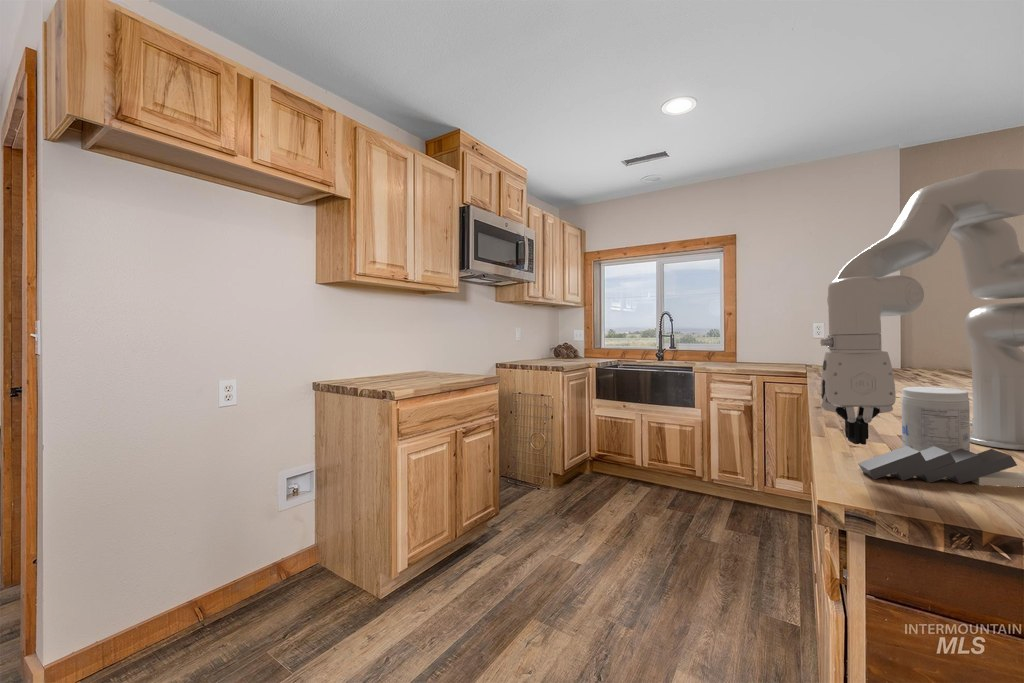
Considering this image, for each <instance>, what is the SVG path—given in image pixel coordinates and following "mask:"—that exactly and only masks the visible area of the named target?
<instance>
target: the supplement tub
mask: <svg viewBox="0 0 1024 683" xmlns="http://www.w3.org/2000/svg"><path fill="white" fill-rule="evenodd" d="M970 409H971V408H970V398H969V392H968V391H967V390H964V389H959V388H951V387H950V388H949V387H938V386H937V387H935V386H907V387H903V388H902V394H901V440H902V441H901V445H902V446H901V447H903V446H908V447H910V448H913V449H915V450H917V451H922V450H925V449H928V448H930V447H933V446H935V447H937V448H940V449H942V450H945V451H947V452H952V451H955V450H958V449H961V448H962V449H964V450H967V451H970V452H971V450H970V448H971V447H970V446H971V444H970V443H971V442H970V433H971V430H970V429H971V428H970V427H971V426H970V421H971V420H970V419H971V418H970V412H971V410H970Z"/></svg>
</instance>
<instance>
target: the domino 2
mask: <svg viewBox="0 0 1024 683" xmlns="http://www.w3.org/2000/svg"><path fill="white" fill-rule="evenodd" d="M920 452H921V454H922V456H923V457H924V459H925V460H926V461H925V462H922V463H919V464H917V465H914V466H911V467H908V468H905V469H903V470H900V471H897V472H894V473H891V474H890V475H891V476H894V477H896V478H897V479H899V480H901V481H906V480H909V479H911V478H914V477H917V476H918V475H920V474H923V473H926V472H929V471H932V470H935V469H937V468H940V467H943V466H946V465H949V464H952V463H954V462H956V461H955V460H954V458H953V457H952V455H951V454H950V452H947V451H945V450H942V449H940V448H937V447H935V446H933V447H930V448H928V449H925V450H922V451H920Z"/></svg>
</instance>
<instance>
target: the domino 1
mask: <svg viewBox="0 0 1024 683" xmlns="http://www.w3.org/2000/svg"><path fill="white" fill-rule="evenodd" d="M925 461H926V460H925V459H924V457H923V456H922V454H921V452H920V451H917V450H915V449H913V448H910V447H908V446H903V447H902V446H901V447H898V448H896V449H894V450H890V451H888V452H885V453H881V454H879V455H876V456H874V457H872V458H868V459H865V460H863V461H860V462H858V463H857V465H858V466H859V469H861V471H862V472H863V473H864V474H865V475H867V476H869V477H870V478H871V479H873V480H875V481H876V480H878V479H879V478H883V477H885V476H888V475H892V474H891V473H894V472H897V471H900V470H903V469H905V468H908V467H911V466H914V465H917V464H919V463H922V462H925Z"/></svg>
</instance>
